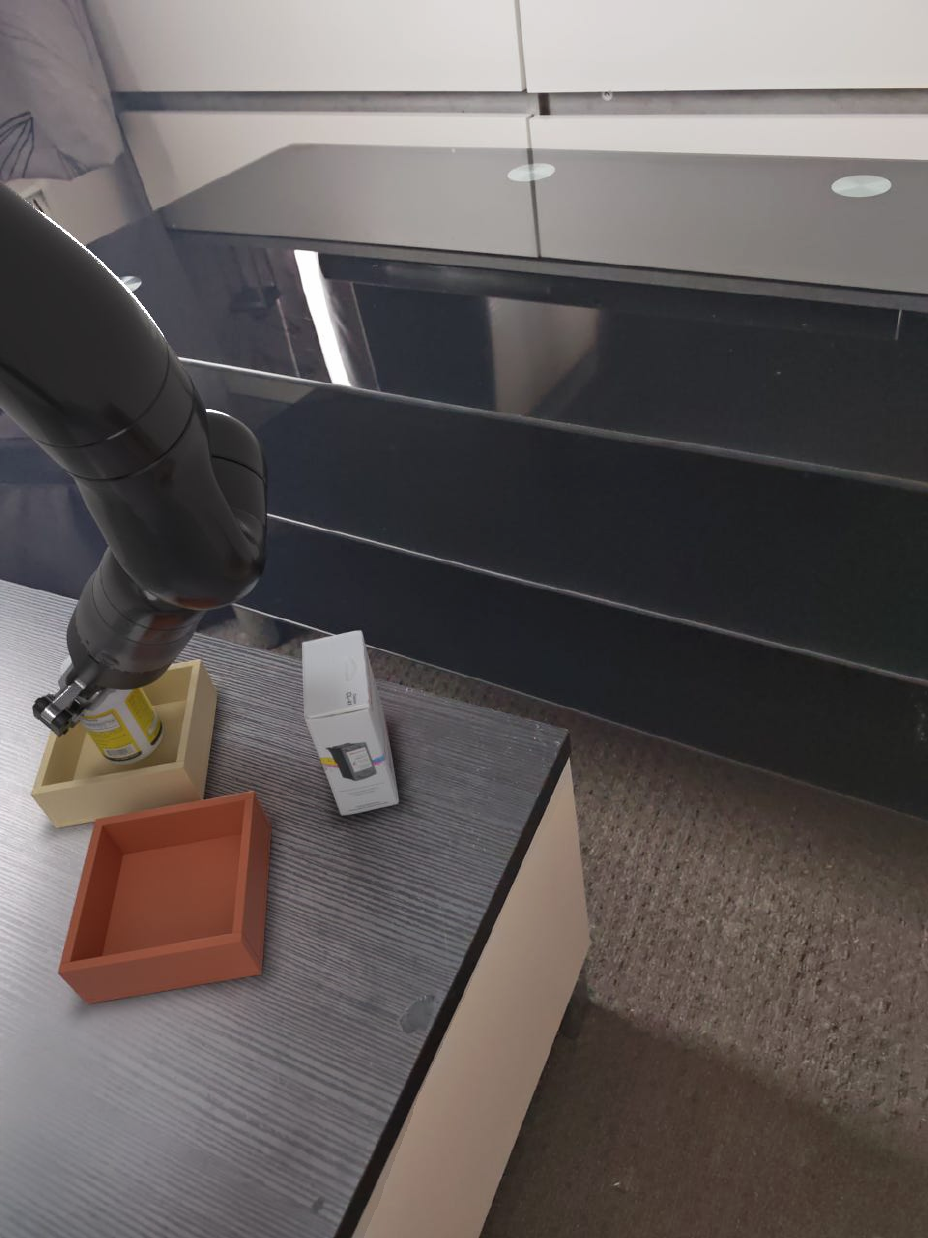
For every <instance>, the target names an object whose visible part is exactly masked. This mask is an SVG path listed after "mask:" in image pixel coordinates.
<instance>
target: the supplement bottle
mask: <svg viewBox="0 0 928 1238" xmlns="http://www.w3.org/2000/svg"><path fill="white" fill-rule="evenodd" d="M71 663H72V661H71V657H70V655H68V656H67V657H66V658H65V659H64V661H63V662H62V664H61V666H60V670H59V674H60V677H61V676H62V675H63V674H64V672H65V671H66V670H67V668H68V667H69V666H70V665H71ZM101 691H102V690H101ZM101 691H99V692H98V693H100V692H101ZM75 700H76V699H75ZM76 701H77V700H76ZM77 702H78V701H77ZM78 703H79V702H78ZM79 704H80V703H79ZM84 715H85V716H84V717H83V718H82V719H81V720H80V722H81V724H82V725H83V727H84V728H85V729H86V731H87V732H88V734H89V735H90V737H91V738H92V740H93V741H94V743H95V744H96V746H97V747H98V749H99V750H100V752H101V753H102V755H103V756H104V757H105V758H106V759H107V760H108V761H109V762H111V763H113V764H117V765H127V764H132V763H136V762H138V761H140V760H142V759H144V758H146V757H147V756H149V755H150V754H151V753H152V752H153V751H154V750H155V749H156V748H157V747H158V746H159V744H160V743H161V741H162V739H163V735H164V727H163V724H162V722H161V720H160V719H159V717H158V715H157V714H156V712H155V710H154V709H153V707H152V705H151V704H150V702H149V700H148V699H147V697H146V695H145V693H144V692H143V690H142V688H137V689H130V690H118V689H117V690H116V691H115V692H114V693H112V694H110V695H109V696H108V697H107V698H106V699H105V701H104V702H103V703H101V704H100V705H99V706H98V707H97V708H96V709H95V710H94V711H88V710H87V712H86V713H85V714H84Z"/></svg>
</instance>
